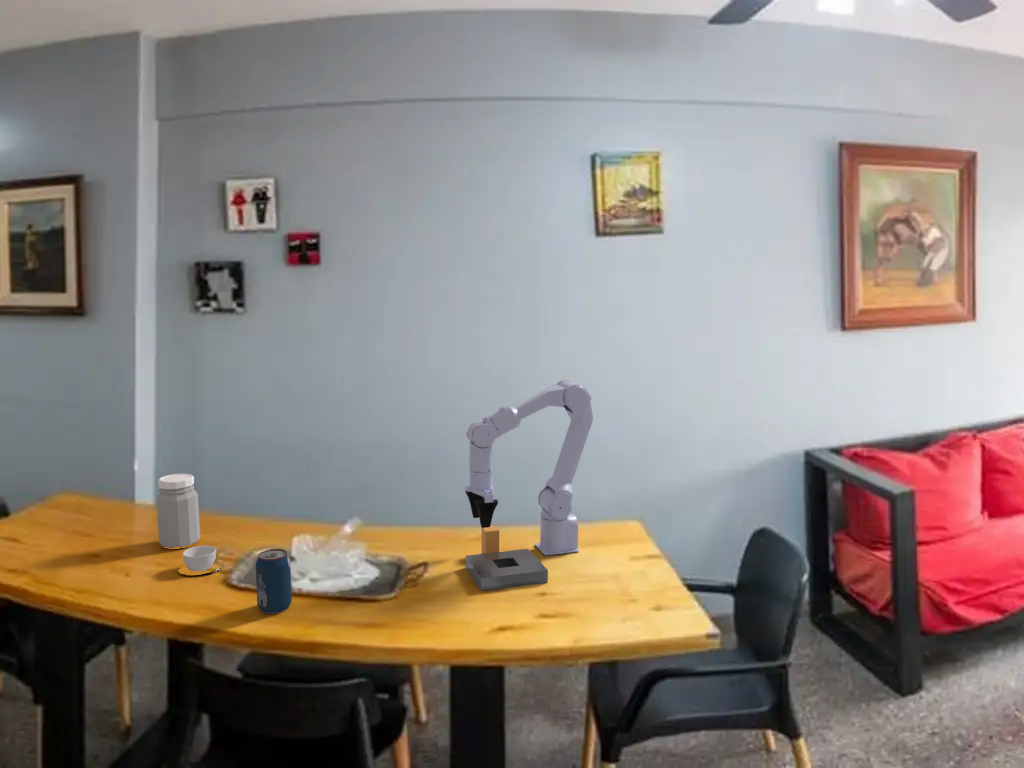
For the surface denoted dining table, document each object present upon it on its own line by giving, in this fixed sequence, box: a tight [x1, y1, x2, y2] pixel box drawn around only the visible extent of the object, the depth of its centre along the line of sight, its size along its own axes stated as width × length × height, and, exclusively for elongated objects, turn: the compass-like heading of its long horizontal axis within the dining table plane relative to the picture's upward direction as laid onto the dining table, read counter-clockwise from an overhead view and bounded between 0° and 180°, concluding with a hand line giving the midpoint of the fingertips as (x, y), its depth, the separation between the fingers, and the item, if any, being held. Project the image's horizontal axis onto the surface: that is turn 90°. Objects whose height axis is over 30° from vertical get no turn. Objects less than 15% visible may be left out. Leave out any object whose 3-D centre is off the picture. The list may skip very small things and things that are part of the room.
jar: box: [155, 473, 201, 548], centre depth 184 cm, size 10×10×18 cm
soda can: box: [255, 548, 293, 615], centre depth 149 cm, size 7×7×12 cm
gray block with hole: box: [465, 548, 549, 592], centre depth 167 cm, size 16×14×3 cm
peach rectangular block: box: [481, 525, 500, 554], centre depth 179 cm, size 4×4×7 cm
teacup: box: [182, 545, 220, 573], centre depth 169 cm, size 10×10×5 cm
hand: (481, 522), depth 177 cm, fingers open, 7 cm apart
